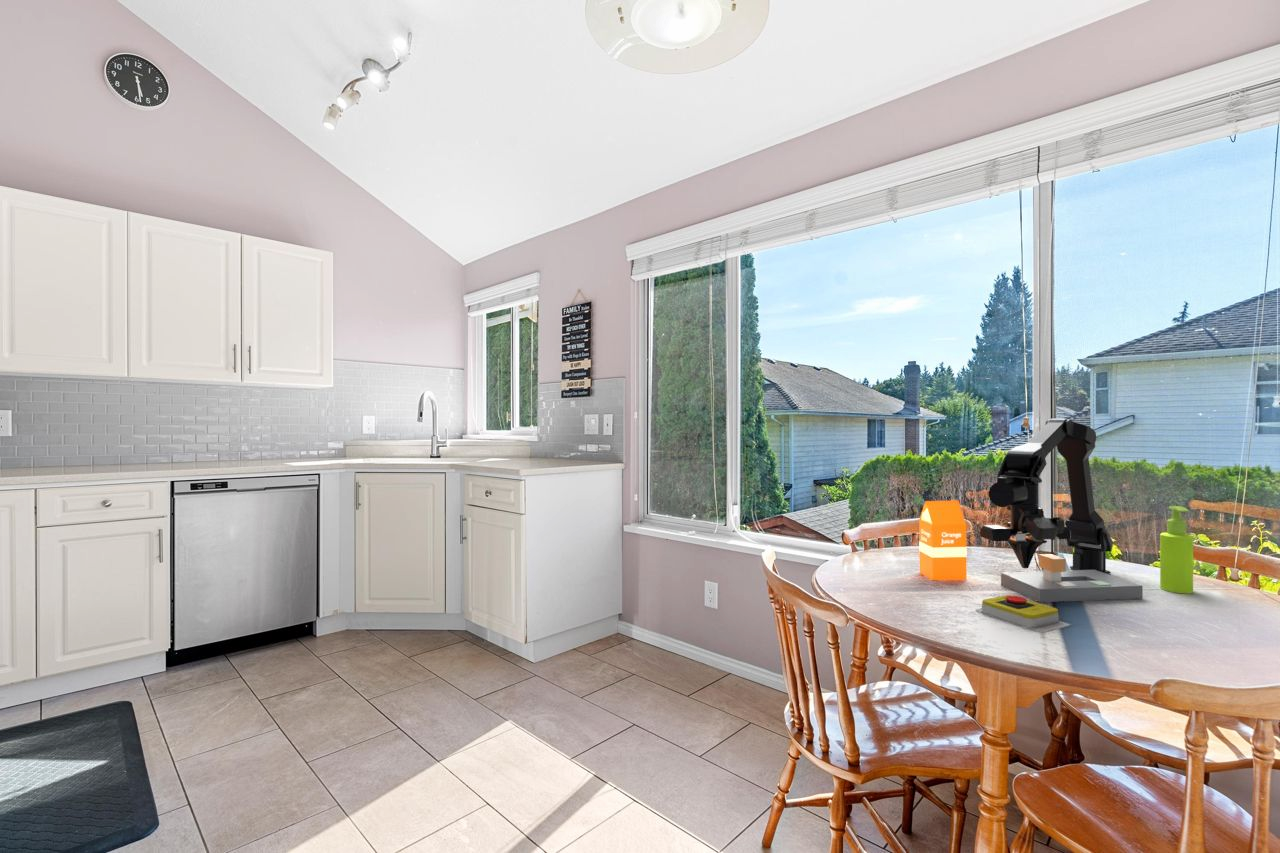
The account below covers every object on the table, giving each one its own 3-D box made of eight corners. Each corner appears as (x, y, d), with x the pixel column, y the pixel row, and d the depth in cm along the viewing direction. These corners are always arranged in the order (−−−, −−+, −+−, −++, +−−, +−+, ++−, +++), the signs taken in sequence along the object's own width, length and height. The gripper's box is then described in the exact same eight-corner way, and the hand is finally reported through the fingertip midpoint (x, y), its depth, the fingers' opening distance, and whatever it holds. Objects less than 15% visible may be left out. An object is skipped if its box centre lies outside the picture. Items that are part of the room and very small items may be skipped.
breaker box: (1094, 581, 153) (1094, 568, 152) (1142, 598, 139) (1142, 584, 139) (1001, 584, 152) (1000, 571, 152) (1040, 602, 138) (1039, 588, 138)
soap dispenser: (1168, 593, 142) (1168, 508, 141) (1155, 585, 148) (1156, 503, 148) (1200, 595, 140) (1200, 509, 139) (1186, 587, 146) (1186, 504, 146)
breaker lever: (1050, 583, 148) (1050, 553, 147) (1065, 589, 143) (1065, 558, 142) (1038, 583, 147) (1038, 554, 147) (1053, 589, 142) (1053, 559, 142)
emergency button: (1002, 587, 137) (1072, 606, 123) (1002, 606, 137) (1072, 628, 123) (973, 592, 133) (1041, 613, 119) (973, 612, 133) (1041, 635, 120)
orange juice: (967, 580, 156) (966, 502, 156) (932, 580, 156) (931, 503, 156) (951, 571, 164) (951, 498, 164) (919, 572, 164) (918, 498, 164)
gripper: (1007, 509, 136) (1008, 578, 136) (1089, 507, 136) (1089, 575, 137) (978, 502, 147) (978, 566, 147) (1053, 499, 148) (1053, 563, 148)
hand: (1024, 568), depth 145 cm, fingers closed
